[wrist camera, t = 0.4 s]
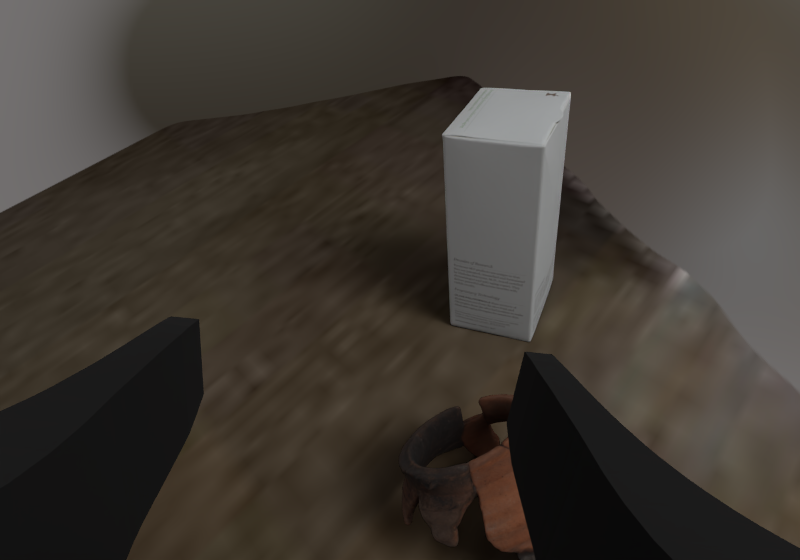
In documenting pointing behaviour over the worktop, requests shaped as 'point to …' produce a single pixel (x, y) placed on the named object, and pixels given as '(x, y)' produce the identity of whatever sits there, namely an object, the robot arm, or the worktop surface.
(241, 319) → the worktop surface
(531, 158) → the skincare box
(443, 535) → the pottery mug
